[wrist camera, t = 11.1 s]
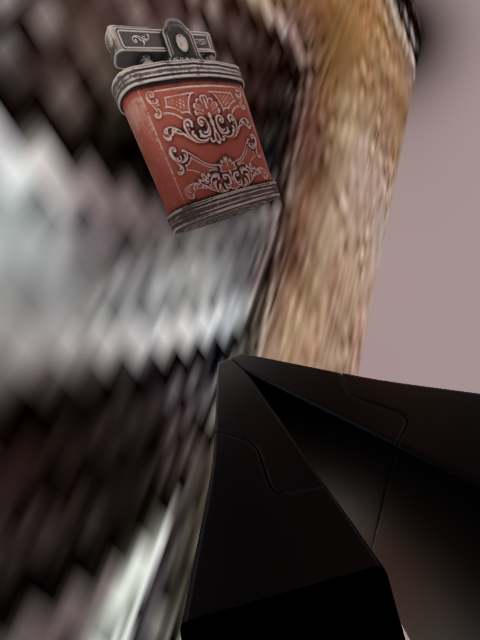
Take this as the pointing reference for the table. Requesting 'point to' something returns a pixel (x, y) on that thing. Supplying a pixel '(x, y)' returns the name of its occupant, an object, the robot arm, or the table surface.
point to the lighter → (189, 123)
